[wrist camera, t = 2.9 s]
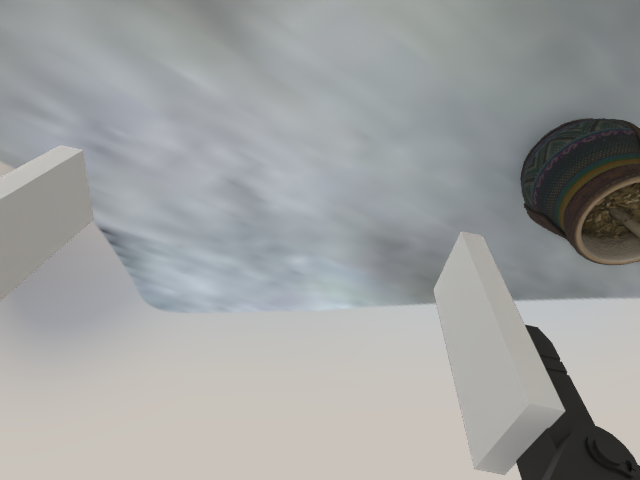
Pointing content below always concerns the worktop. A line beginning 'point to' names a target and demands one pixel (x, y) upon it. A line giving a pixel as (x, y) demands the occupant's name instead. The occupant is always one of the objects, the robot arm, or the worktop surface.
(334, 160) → the worktop surface
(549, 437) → the robot arm
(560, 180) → the mate gourd
